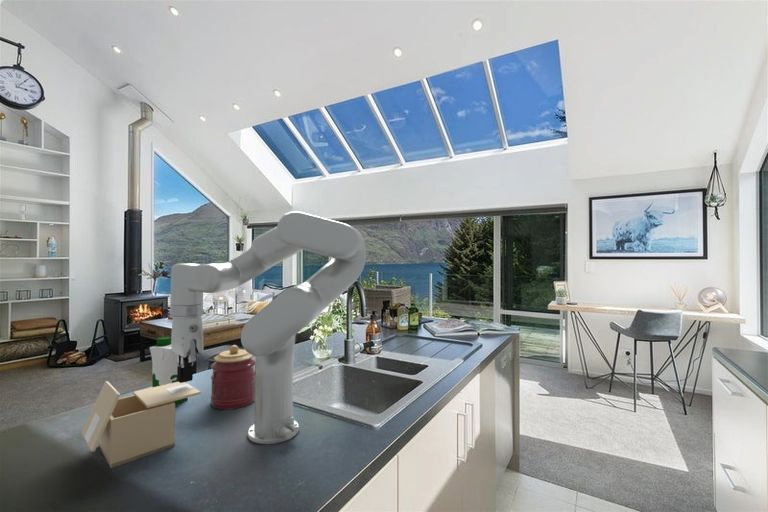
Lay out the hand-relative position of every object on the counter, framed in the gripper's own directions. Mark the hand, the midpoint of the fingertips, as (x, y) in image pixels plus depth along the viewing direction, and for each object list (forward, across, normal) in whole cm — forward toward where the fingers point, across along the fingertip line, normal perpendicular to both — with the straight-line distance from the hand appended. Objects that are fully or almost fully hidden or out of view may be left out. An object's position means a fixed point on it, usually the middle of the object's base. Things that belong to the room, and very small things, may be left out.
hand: (184, 380), depth 95 cm
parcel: (+13, -1, +10) cm, 17 cm away
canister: (+13, +9, -18) cm, 24 cm away
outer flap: (+3, 0, +16) cm, 17 cm away
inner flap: (+3, 0, +5) cm, 6 cm away
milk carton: (+13, +22, -4) cm, 26 cm away
